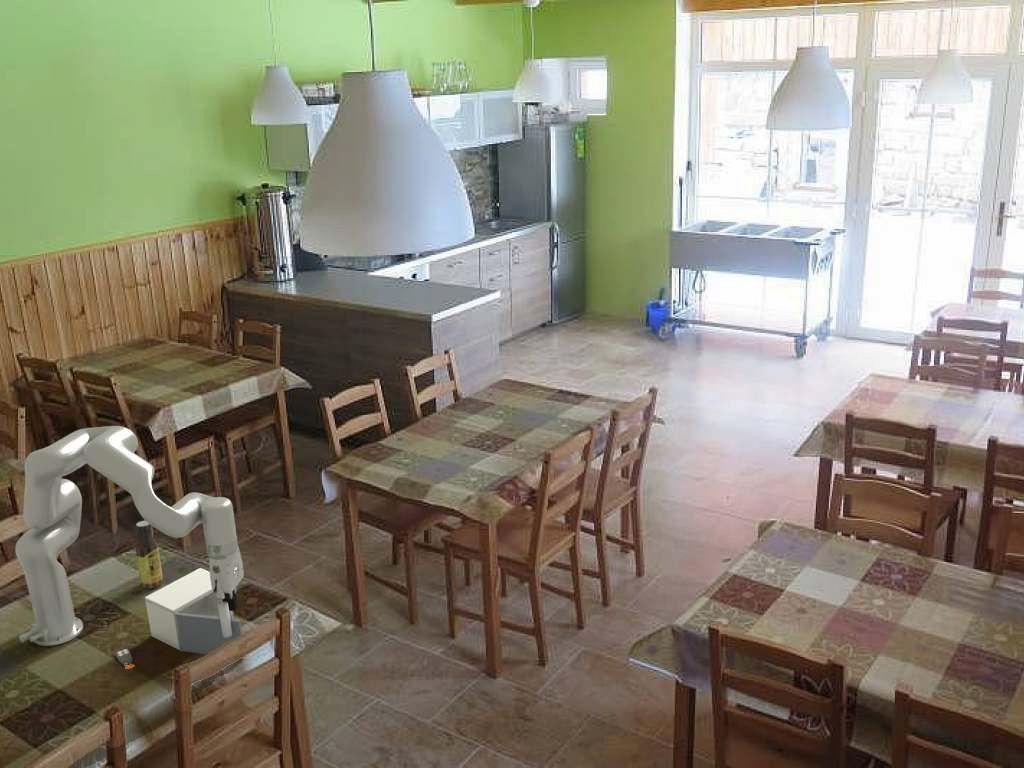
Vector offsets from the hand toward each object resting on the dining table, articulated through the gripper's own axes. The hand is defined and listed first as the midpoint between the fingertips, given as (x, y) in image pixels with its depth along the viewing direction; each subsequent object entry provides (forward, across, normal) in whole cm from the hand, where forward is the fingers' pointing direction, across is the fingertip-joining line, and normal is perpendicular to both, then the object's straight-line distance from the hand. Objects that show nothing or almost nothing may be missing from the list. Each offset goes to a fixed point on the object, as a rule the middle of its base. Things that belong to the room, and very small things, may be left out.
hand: (230, 609), depth 247 cm
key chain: (+14, -7, +26) cm, 31 cm away
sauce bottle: (+13, +31, +39) cm, 52 cm away
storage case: (+13, +11, +17) cm, 24 cm away
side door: (+13, -2, +6) cm, 14 cm away
